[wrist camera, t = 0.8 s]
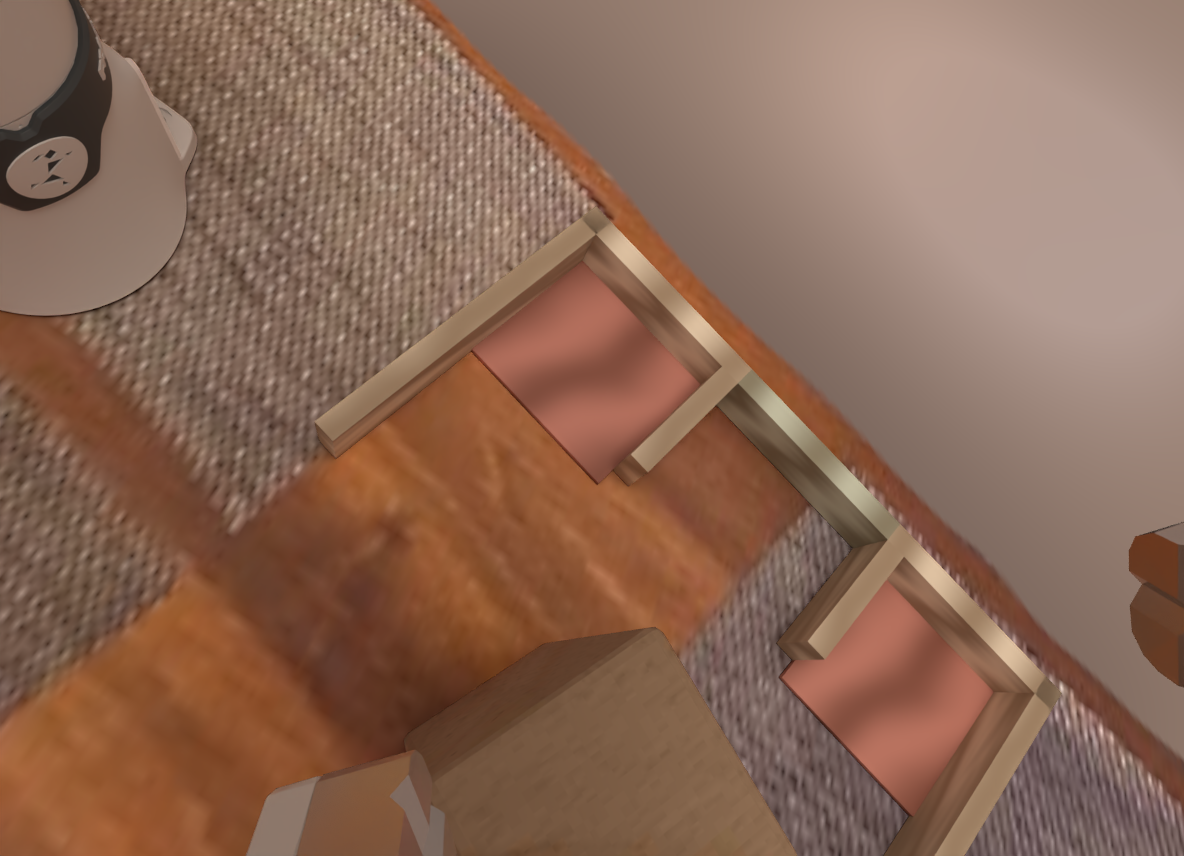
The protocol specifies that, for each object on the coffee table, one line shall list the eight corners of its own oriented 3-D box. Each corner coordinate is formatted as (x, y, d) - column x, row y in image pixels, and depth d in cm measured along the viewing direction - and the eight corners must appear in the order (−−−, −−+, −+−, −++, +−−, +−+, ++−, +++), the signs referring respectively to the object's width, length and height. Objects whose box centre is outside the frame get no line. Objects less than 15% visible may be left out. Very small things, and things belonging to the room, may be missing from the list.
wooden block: (636, 788, 46) (810, 867, 28) (490, 901, 43) (579, 1079, 24) (549, 639, 48) (660, 620, 29) (400, 737, 44) (418, 787, 25)
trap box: (319, 440, 47) (314, 421, 44) (581, 236, 56) (595, 206, 52) (828, 988, 46) (867, 1016, 42) (1015, 691, 55) (1061, 693, 51)
